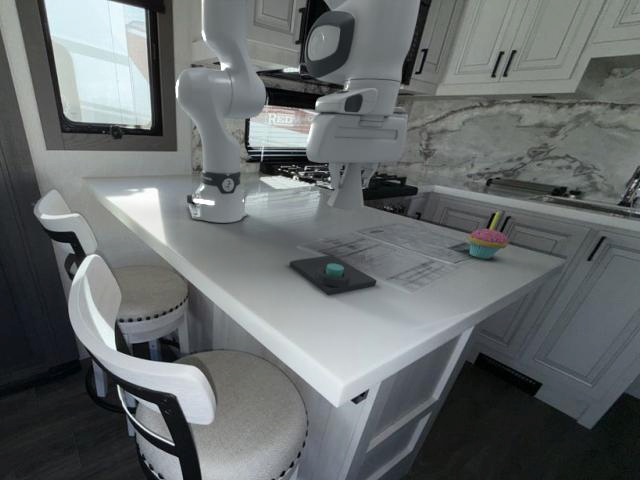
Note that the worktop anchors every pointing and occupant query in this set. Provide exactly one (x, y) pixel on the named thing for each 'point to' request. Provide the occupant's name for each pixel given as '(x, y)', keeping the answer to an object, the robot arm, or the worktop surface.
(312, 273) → the black flat block
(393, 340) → the worktop surface
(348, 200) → the flask
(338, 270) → the button
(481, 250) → the cupcake
